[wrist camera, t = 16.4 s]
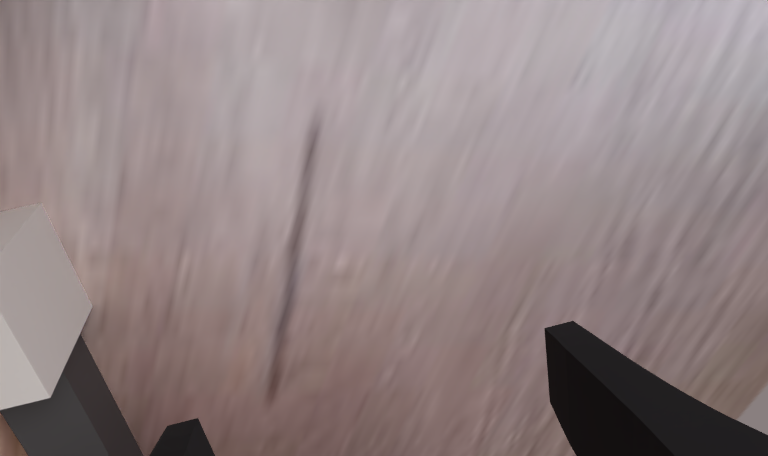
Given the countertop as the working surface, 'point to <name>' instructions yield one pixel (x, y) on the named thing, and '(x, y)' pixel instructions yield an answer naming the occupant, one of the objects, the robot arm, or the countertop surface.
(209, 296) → the countertop surface
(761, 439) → the robot arm
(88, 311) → the plug
